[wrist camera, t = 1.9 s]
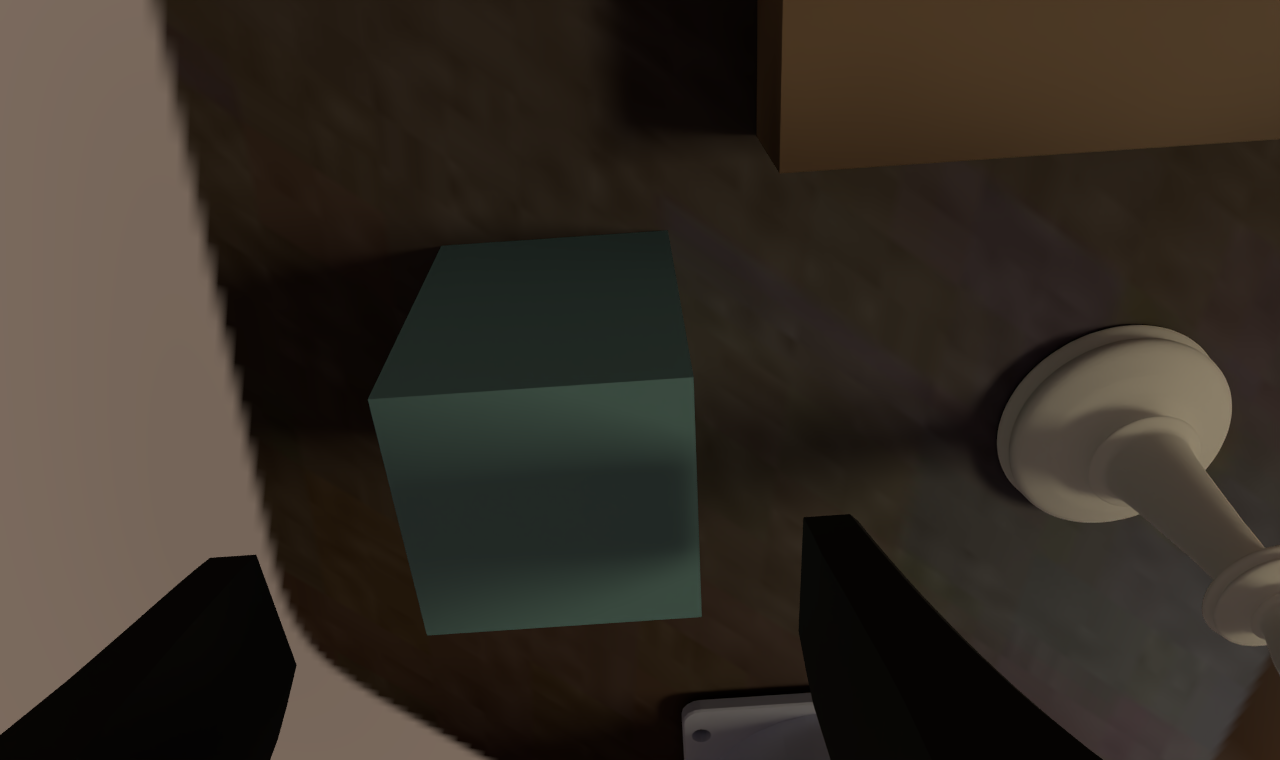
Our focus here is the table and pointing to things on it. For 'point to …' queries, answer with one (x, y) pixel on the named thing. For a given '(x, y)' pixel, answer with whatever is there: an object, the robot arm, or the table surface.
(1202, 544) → the chess piece
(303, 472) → the table surface
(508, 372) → the teal block
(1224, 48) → the walnut base
